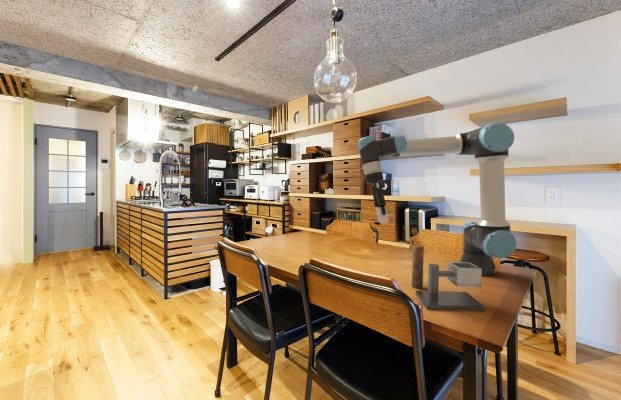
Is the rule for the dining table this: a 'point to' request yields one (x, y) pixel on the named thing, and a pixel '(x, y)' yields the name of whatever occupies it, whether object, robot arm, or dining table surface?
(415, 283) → the walnut rail
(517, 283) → the dining table surface
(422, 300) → the cup bracket
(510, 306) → the dining table surface
